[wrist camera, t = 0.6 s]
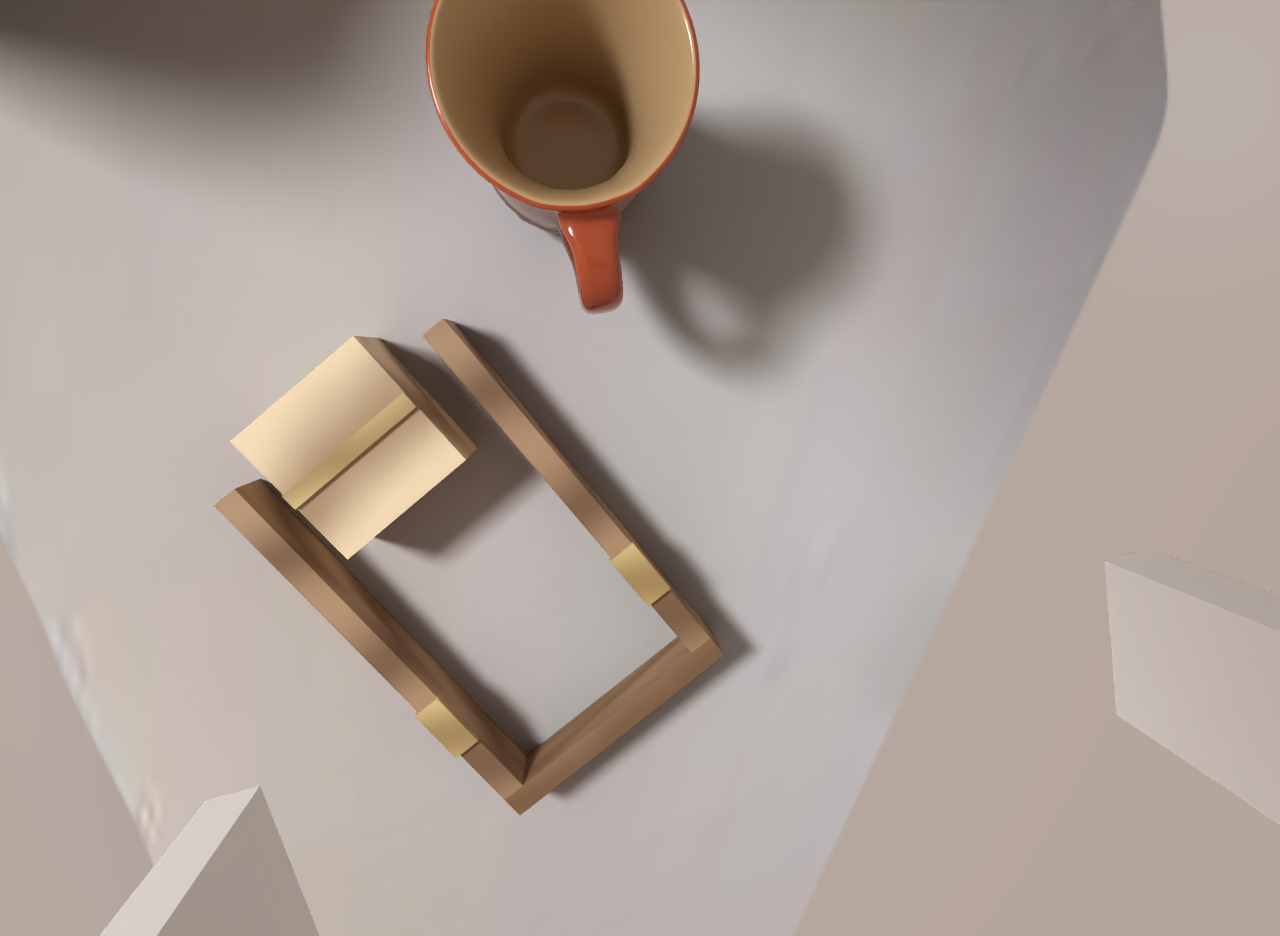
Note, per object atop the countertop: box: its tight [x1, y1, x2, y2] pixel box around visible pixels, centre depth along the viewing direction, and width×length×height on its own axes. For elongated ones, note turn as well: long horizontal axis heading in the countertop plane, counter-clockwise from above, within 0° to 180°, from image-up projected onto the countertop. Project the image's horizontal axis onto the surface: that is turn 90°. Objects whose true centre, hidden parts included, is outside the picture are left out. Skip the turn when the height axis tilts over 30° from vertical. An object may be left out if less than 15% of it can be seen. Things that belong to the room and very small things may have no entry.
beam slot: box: [214, 319, 724, 815], centre depth 33 cm, size 21×14×3 cm, turn 38°
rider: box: [230, 336, 478, 560], centre depth 31 cm, size 7×7×4 cm
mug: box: [426, 0, 700, 314], centre depth 26 cm, size 12×9×10 cm
